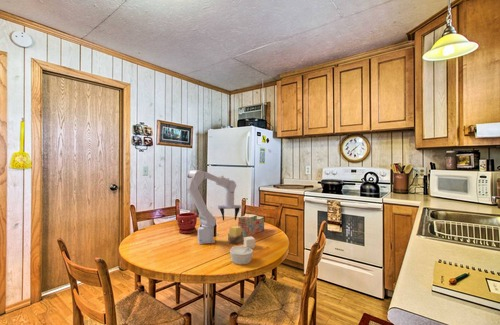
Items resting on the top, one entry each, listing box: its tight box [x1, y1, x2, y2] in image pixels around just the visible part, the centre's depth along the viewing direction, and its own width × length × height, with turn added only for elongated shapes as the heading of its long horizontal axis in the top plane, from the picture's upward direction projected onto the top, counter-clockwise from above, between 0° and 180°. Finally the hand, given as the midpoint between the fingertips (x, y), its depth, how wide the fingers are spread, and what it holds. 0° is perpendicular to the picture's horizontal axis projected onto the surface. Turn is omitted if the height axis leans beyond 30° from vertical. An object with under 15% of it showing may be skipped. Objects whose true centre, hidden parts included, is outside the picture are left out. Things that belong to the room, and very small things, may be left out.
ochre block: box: [228, 225, 241, 237], centre depth 148 cm, size 5×5×5 cm
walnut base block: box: [227, 233, 244, 245], centre depth 148 cm, size 8×8×4 cm
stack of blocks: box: [237, 213, 265, 238], centre depth 165 cm, size 21×6×12 cm, turn 144°
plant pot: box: [176, 212, 198, 234], centre depth 166 cm, size 13×13×12 cm
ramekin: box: [229, 245, 254, 265], centre depth 120 cm, size 11×11×5 cm
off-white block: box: [243, 235, 256, 249], centre depth 139 cm, size 5×5×5 cm
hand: (229, 219), depth 158 cm, fingers open, 7 cm apart
